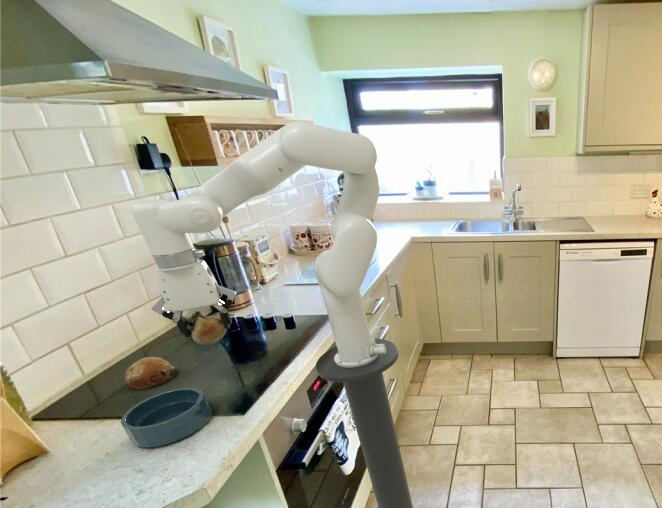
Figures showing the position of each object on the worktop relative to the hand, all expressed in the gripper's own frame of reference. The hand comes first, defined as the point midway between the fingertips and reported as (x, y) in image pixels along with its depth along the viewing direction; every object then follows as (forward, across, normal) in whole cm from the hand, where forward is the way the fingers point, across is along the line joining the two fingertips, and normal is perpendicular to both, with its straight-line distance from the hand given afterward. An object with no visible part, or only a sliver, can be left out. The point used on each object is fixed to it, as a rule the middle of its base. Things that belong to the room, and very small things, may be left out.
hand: (208, 330), depth 99 cm
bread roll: (+16, +20, -15) cm, 30 cm away
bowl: (+16, +10, +12) cm, 23 cm away
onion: (+3, 0, 0) cm, 3 cm away
